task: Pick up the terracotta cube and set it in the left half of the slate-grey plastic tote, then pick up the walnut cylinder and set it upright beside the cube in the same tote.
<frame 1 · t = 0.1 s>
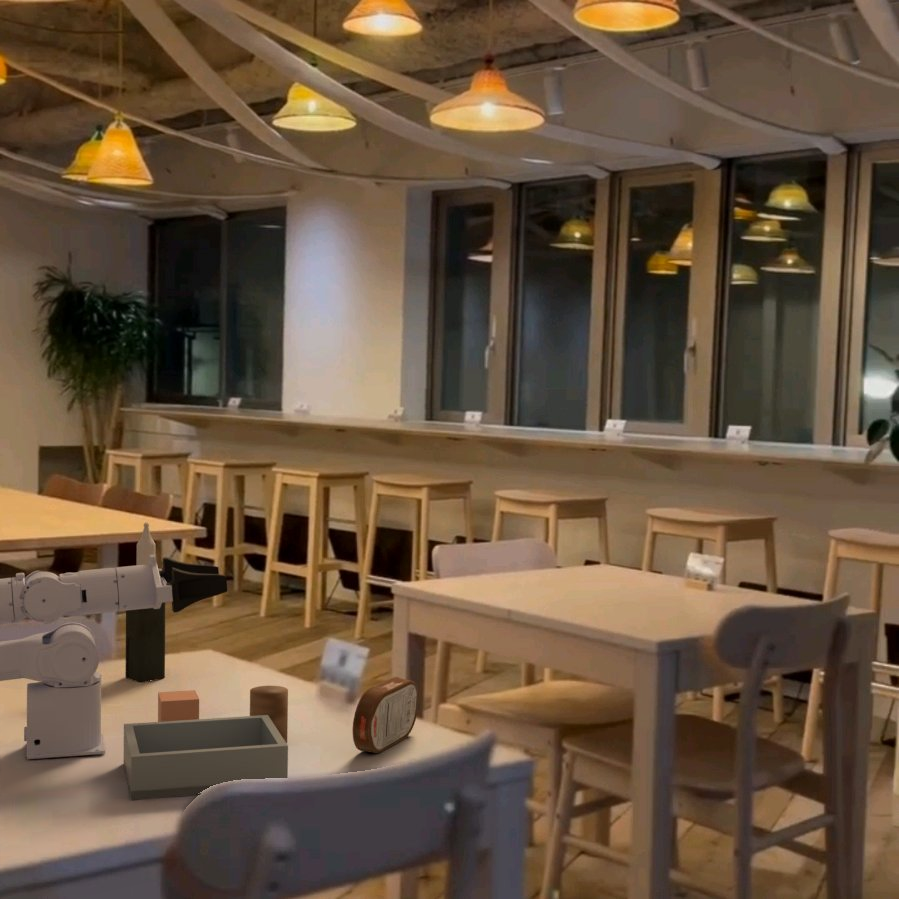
hand: (222, 578, 166), 22 cm above the table, tool horizontal, fingers open, 7 cm apart
walnut cylinder: (268, 742, 166), on the table
tote: (203, 775, 151), on the table
terracotta cube: (178, 731, 170), on the table
tin: (386, 746, 166), on the table
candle: (145, 678, 200), on the table
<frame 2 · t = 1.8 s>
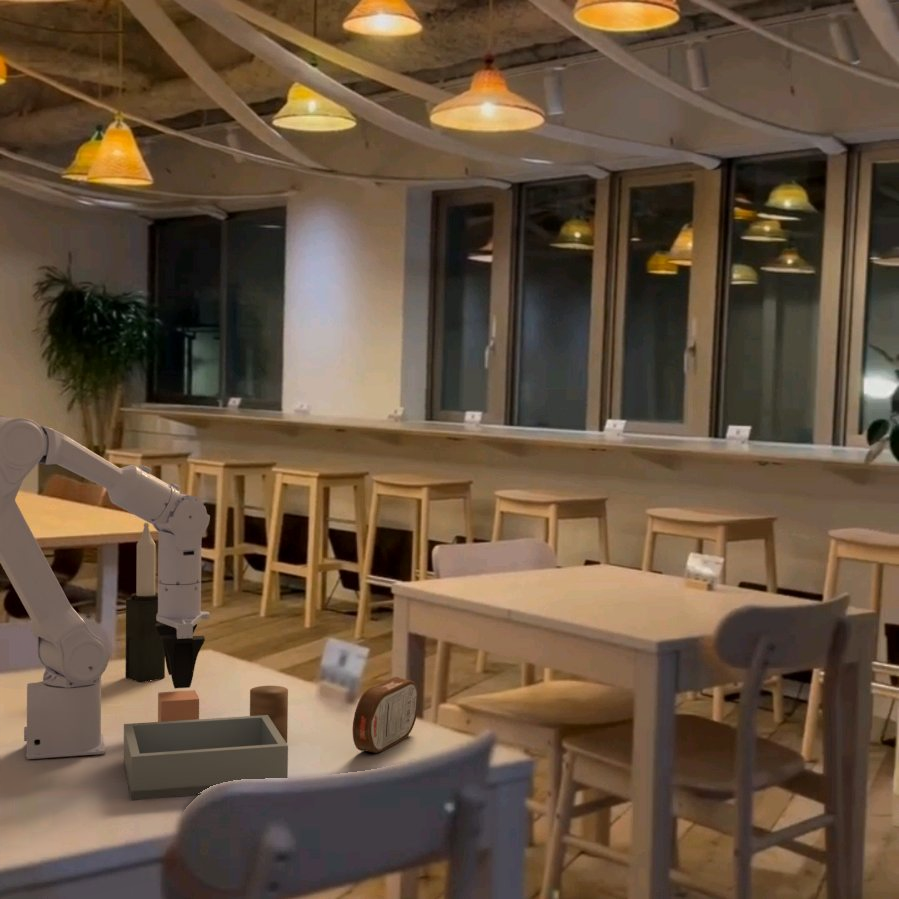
hand: (179, 680, 170), 7 cm above the table, tool pointing down, fingers open, 7 cm apart
nothing on the table moved.
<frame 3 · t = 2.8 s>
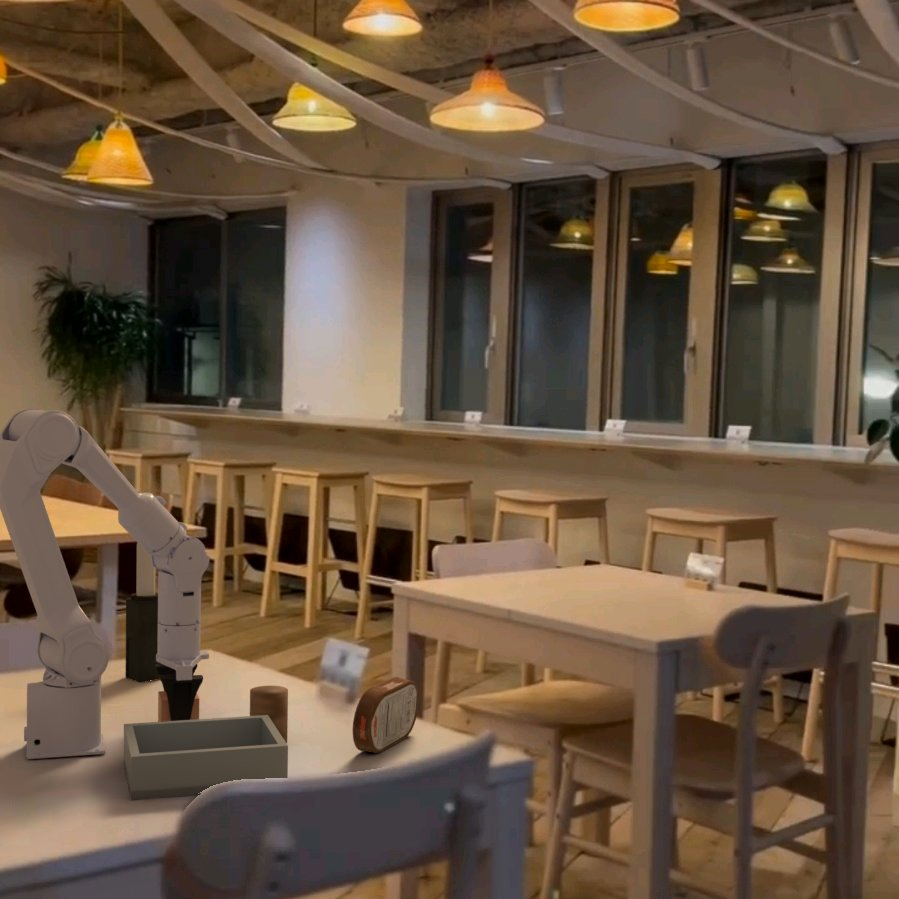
hand: (178, 720, 170), 1 cm above the table, tool pointing down, fingers closed on terracotta cube, 5 cm apart
terracotta cube: (178, 731, 170), on the table, touching gripper
everything else where it was.
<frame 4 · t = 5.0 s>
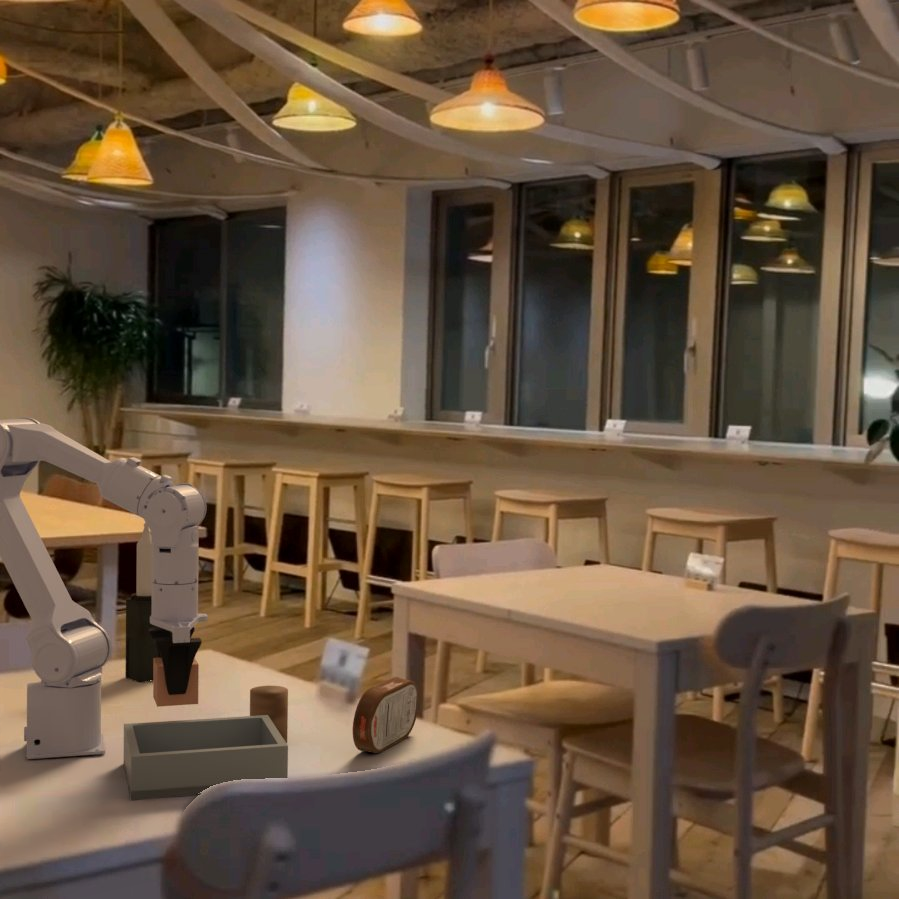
hand: (174, 688, 157), 9 cm above the table, tool pointing down, fingers closed on terracotta cube, 5 cm apart
terracotta cube: (175, 700, 157), point 8 cm above the table, touching gripper
everything else where it was.
when the fingers open (4 cm above the table, at t = 7.2 s): terracotta cube drops 1 cm, resting on tote.
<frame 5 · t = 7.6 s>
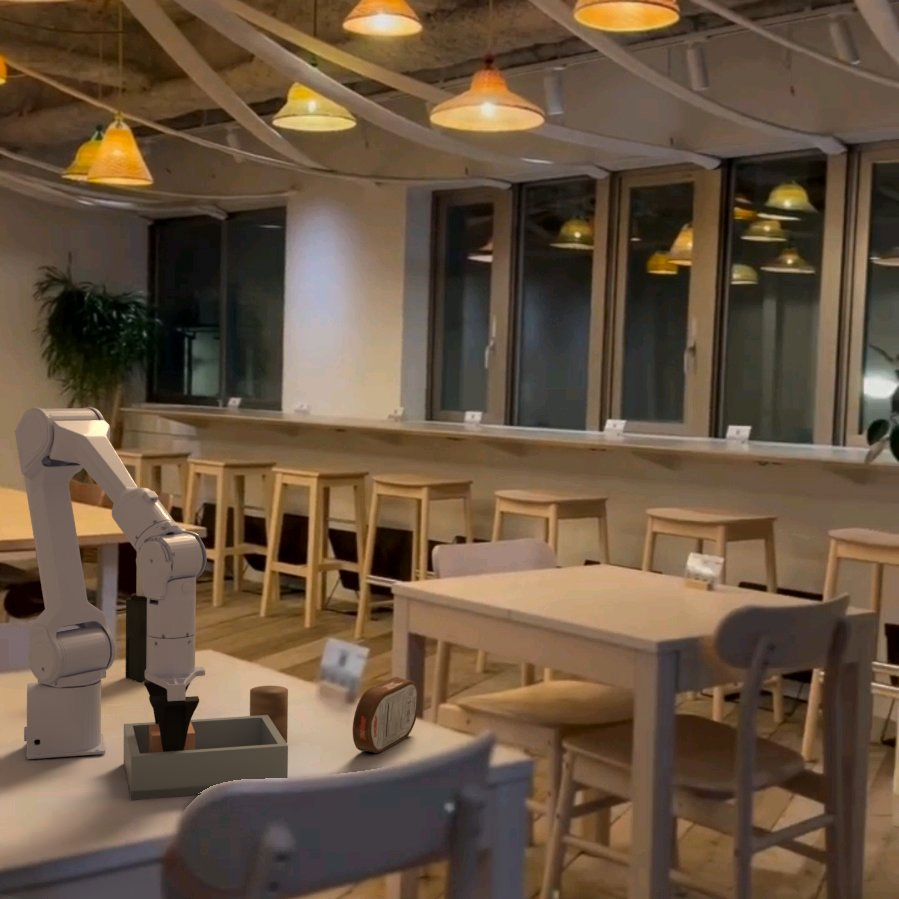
hand: (170, 745, 150), 4 cm above the table, tool pointing down, fingers open, 7 cm apart
terracotta cube: (171, 769, 150), point 1 cm above the table, touching tote
everything else where it was.
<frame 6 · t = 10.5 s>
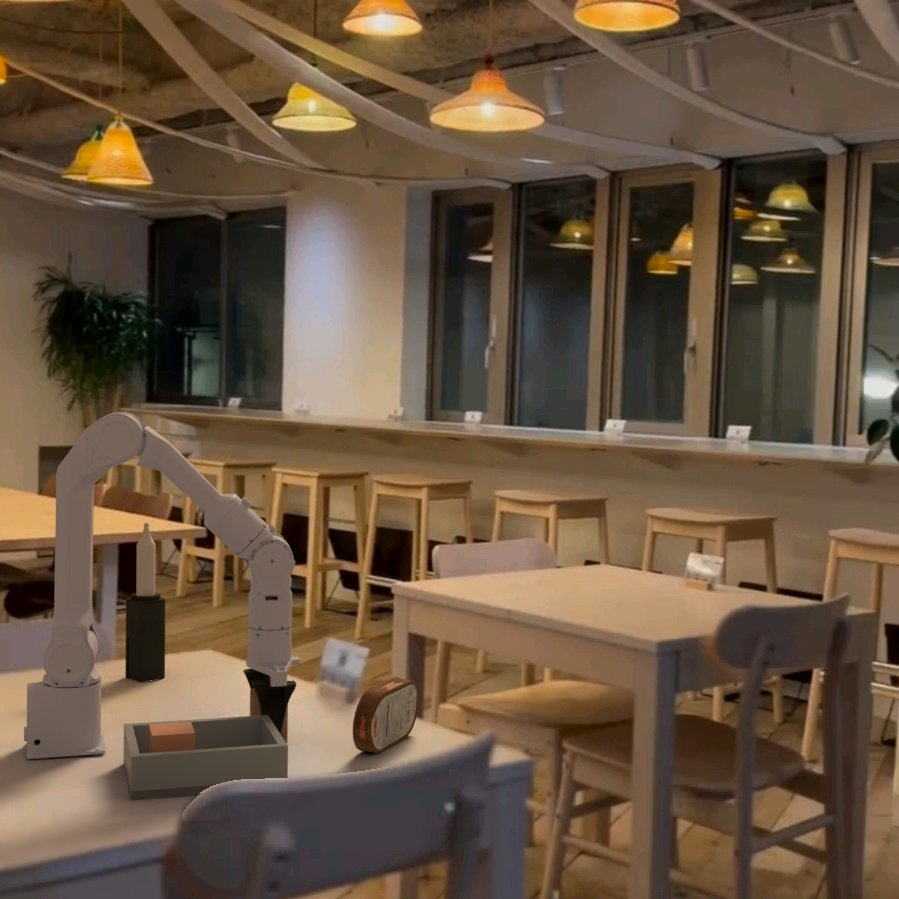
hand: (268, 727, 166), 2 cm above the table, tool pointing down, fingers closed on walnut cylinder, 5 cm apart
walnut cylinder: (268, 741, 166), on the table, touching gripper
everything else where it was.
when the fingers open (4 cm above the table, at t = 14.0 s): walnut cylinder drops 1 cm, resting on tote.
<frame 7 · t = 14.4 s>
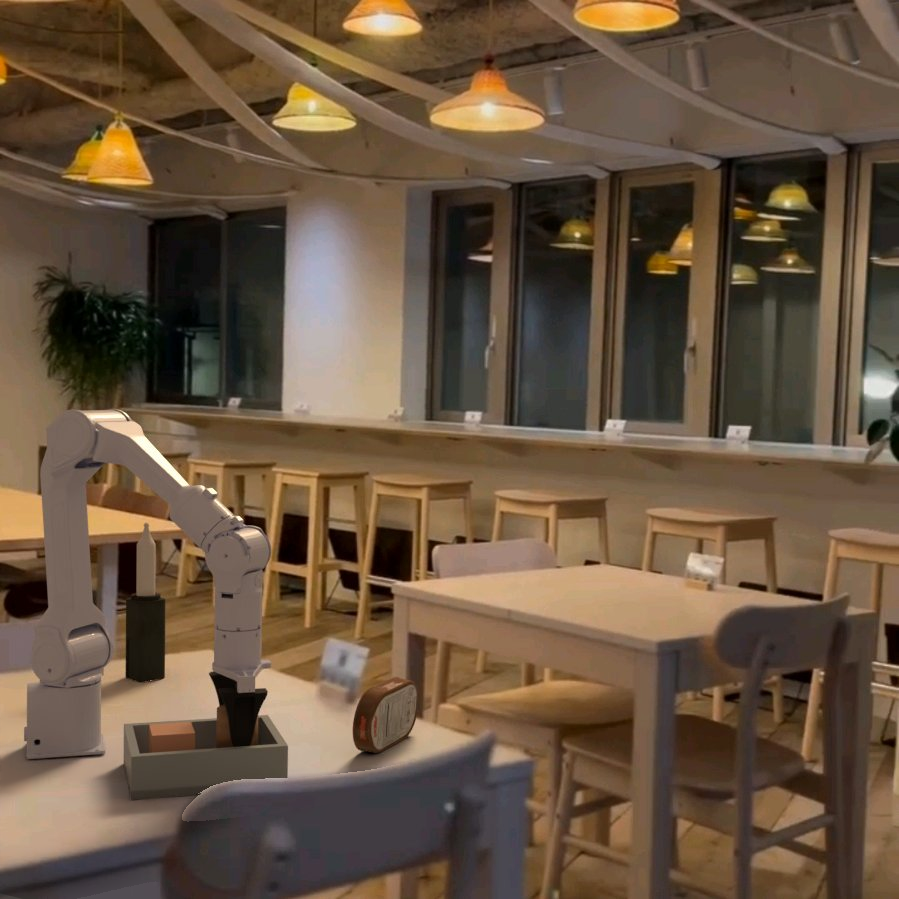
hand: (236, 737, 152), 4 cm above the table, tool pointing down, fingers open, 7 cm apart
walnut cylinder: (236, 764, 153), point 1 cm above the table, touching tote
everything else where it was.
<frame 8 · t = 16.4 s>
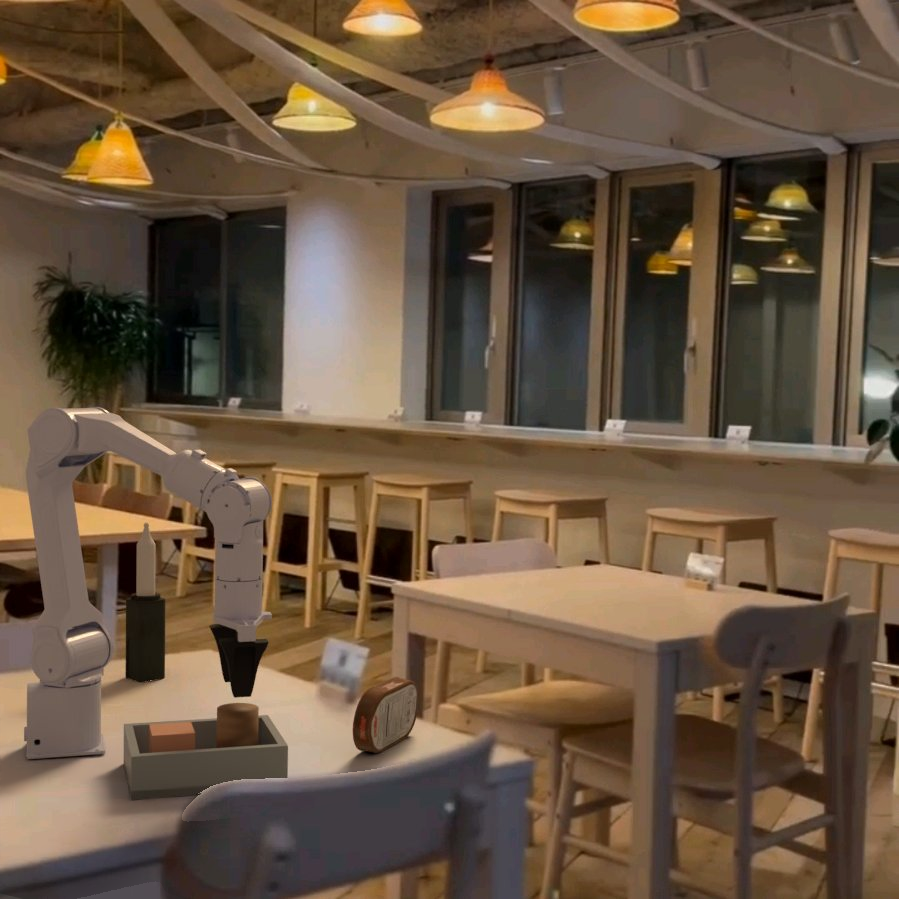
hand: (237, 688, 152), 10 cm above the table, tool pointing down, fingers open, 7 cm apart
nothing on the table moved.
at the end: terracotta cube inside the target area on the tote (3.8 cm from its centre), point 1.0 cm above the tote's base; walnut cylinder inside the target area on the tote (4.0 cm from its centre), point 1.0 cm above the tote's base; the gripper is holding nothing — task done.
